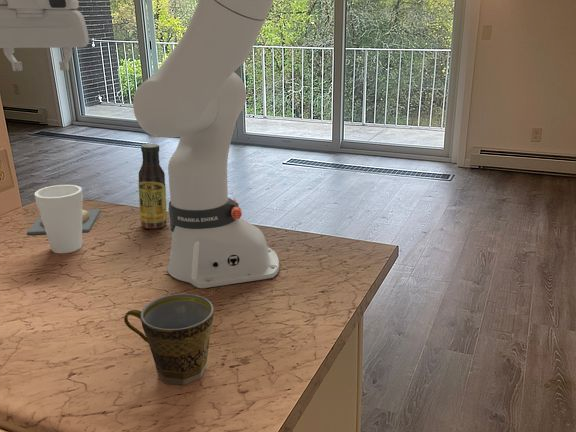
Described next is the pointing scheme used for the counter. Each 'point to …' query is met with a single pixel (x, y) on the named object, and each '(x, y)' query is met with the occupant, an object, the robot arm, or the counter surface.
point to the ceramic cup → (177, 335)
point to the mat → (86, 226)
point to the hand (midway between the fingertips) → (41, 70)
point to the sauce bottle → (152, 189)
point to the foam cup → (61, 216)
